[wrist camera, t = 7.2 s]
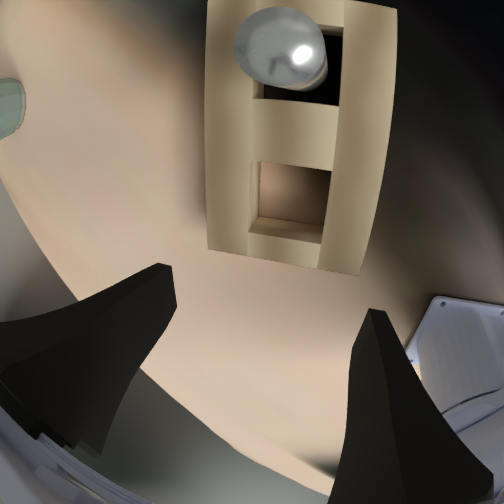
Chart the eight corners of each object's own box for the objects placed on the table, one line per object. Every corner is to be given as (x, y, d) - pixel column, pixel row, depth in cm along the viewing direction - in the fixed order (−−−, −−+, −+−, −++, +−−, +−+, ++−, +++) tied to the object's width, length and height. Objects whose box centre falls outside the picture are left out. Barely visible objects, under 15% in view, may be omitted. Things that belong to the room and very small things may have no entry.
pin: (330, 50, 13) (328, 11, 6) (324, 95, 15) (318, 92, 8) (280, 43, 13) (238, 5, 7) (274, 88, 15) (229, 81, 8)
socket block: (388, 20, 11) (396, 9, 9) (357, 255, 19) (358, 276, 17) (224, 10, 13) (207, 0, 11) (221, 232, 21) (207, 249, 19)
